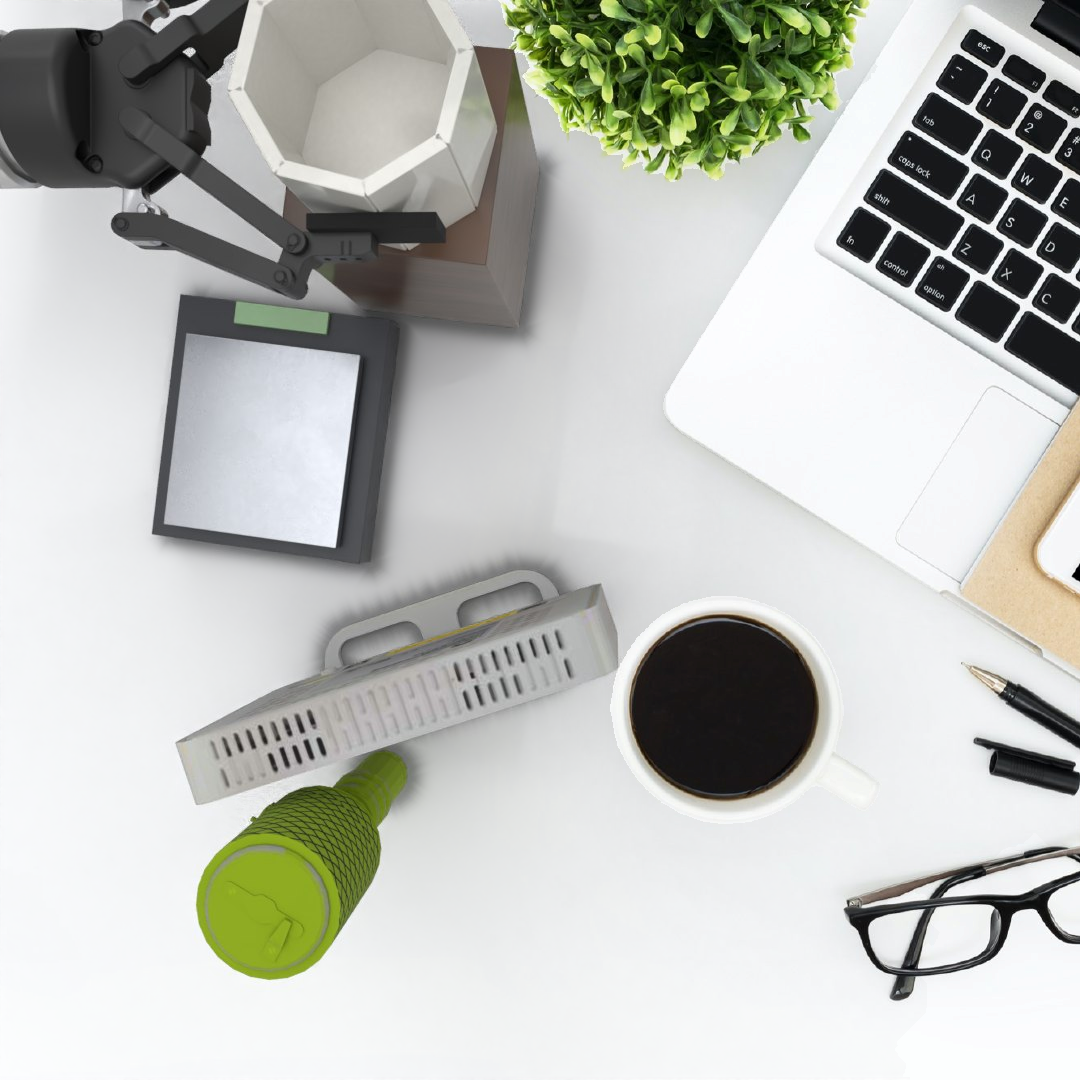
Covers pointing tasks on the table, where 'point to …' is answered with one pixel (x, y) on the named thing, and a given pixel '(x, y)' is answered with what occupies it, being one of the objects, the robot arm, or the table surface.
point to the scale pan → (263, 440)
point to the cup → (366, 104)
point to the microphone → (298, 872)
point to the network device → (407, 685)
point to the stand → (461, 230)
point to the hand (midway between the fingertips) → (442, 102)
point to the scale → (379, 354)
